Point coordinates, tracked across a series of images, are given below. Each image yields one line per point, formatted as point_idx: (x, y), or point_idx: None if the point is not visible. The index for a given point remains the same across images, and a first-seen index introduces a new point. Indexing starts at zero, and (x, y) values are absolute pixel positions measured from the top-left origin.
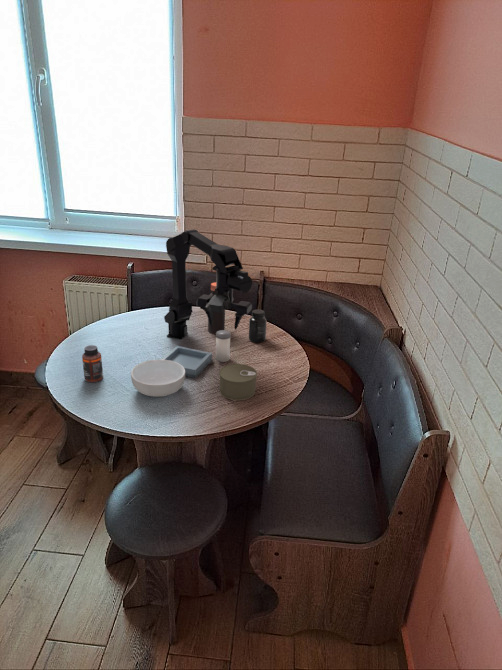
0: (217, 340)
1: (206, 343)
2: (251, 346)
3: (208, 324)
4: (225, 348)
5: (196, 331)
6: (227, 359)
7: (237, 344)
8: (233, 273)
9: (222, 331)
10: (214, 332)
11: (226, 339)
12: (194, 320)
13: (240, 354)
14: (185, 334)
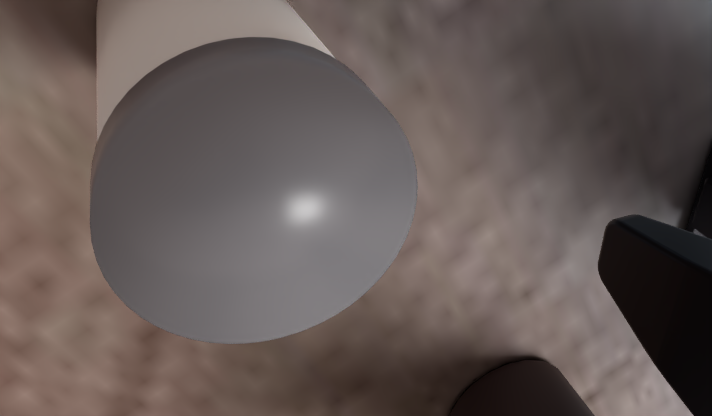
0: (300, 35)
1: (499, 209)
2: (103, 408)
3: (587, 408)
4: (118, 28)
5: None
6: (99, 7)
7: (241, 358)
8: None
9: (324, 267)
10: (503, 373)
11: (115, 113)
12: (675, 405)
13: (80, 230)
14: (709, 203)
